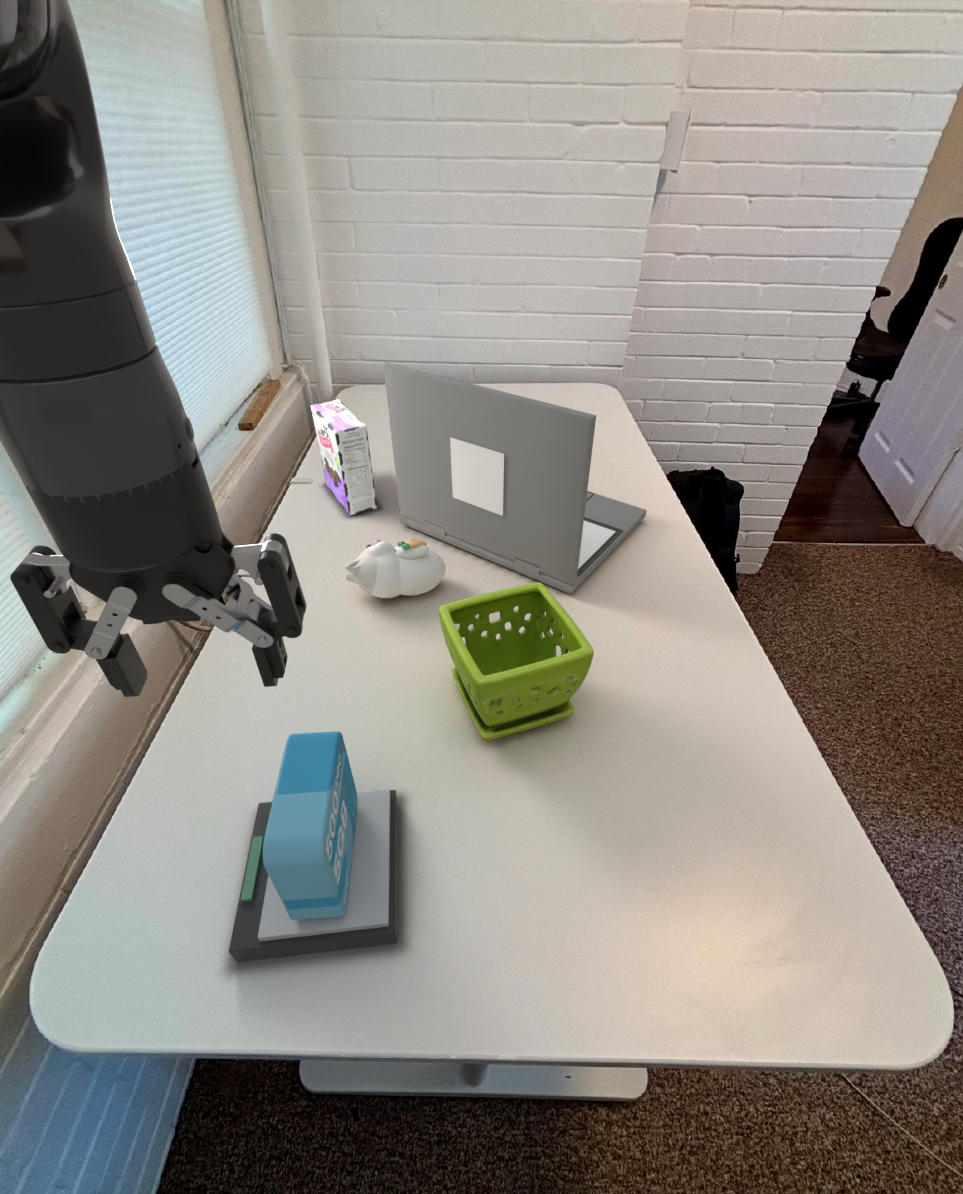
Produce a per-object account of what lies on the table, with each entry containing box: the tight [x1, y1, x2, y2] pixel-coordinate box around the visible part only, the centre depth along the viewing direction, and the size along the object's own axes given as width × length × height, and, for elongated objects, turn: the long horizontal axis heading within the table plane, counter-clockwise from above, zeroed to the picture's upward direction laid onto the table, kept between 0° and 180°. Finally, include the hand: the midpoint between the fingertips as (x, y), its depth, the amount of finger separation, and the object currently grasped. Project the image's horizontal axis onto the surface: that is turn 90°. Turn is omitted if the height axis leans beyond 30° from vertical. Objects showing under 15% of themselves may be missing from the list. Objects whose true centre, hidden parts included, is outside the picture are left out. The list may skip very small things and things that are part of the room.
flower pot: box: [438, 581, 595, 741], centre depth 70 cm, size 14×14×13 cm
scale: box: [228, 789, 399, 963], centre depth 56 cm, size 14×14×3 cm
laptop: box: [383, 361, 648, 594], centre depth 96 cm, size 35×26×28 cm
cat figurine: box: [344, 538, 446, 599], centre depth 88 cm, size 10×8×15 cm
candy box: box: [310, 398, 378, 516], centre depth 108 cm, size 14×6×16 cm, turn 30°
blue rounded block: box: [263, 730, 358, 920], centre depth 51 cm, size 12×4×12 cm, turn 4°
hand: (206, 682), depth 39 cm, fingers open, 8 cm apart
